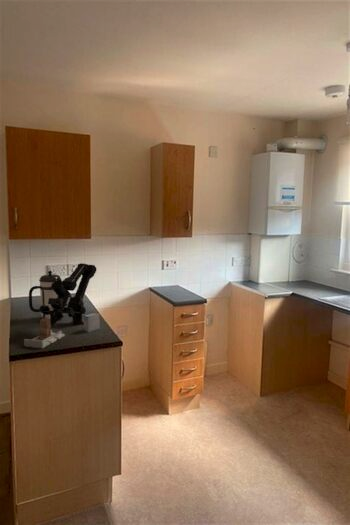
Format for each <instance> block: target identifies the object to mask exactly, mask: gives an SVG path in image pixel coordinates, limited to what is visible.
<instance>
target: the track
mask: <svg viewBox="0 0 350 525" xmlns="http://www.w3.org/2000/svg"><path fill="white" fill-rule="evenodd" d="M63 337H65V333H63V331H62V330H59V331H57V332H53V329H51V336H49V337H48V338H46V339H44V340H42V339H39V335H38V336H36V337H34V338H33V337H32V338H31V339H30V338H24V339H23V346H24V347H27V348H37V349H44V348H45V347H47V346H49V345H50V344H52V343H54V342H56V341H57V340H60V339H61V338H63Z"/></svg>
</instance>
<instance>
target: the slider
mask: <svg viewBox="0 0 350 525" xmlns="http://www.w3.org/2000/svg"><path fill="white" fill-rule="evenodd" d="M51 326H52V325H50V319H45V318H43V319H42V318H41V319H40V320H39V328H40V329H39V330H40V332H39V335H38V336H39V339H42V340H44V339H46V338H48V337H49V336H51V330H52V329H51Z"/></svg>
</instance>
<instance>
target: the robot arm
mask: <svg viewBox="0 0 350 525" xmlns="http://www.w3.org/2000/svg"><path fill="white" fill-rule="evenodd" d="M96 273H97V267H96V266H95V264H87V263H81V262H80V263H78V264H77V266H76V268H75V269H74V270H73V272H72V273H71V274H70V275H69V276H68V277H66V278H64V279H63V280H62V279H61V280H60V279H58V280H57V281H55V282H54V283H53V284H52V285H51V288H52V289H53V290H54V292H55V293H56V294H57V295H58V297H57V298H49V301H48V304H50V305H51V307H53V308H49V307H48V306H45V305H42V306H41V305H40V306H39V308H38V309H39V310H40V311H41V312H42V313H43V314H44V315H49V314H50V326H54V325H55V324H56V323H57V322H58V321H61V320H62V319H63V318H64V317H65V314H66V315H67V316H68V318H72V319H71V320H72V321H70V323H71V324H72V326H77V325H84V320H83V315H85V314H86V310H87V309H86V307H85V306H84V304H85V303H84V301H83V298H84V296H85V294H86V291H87V288H88V285H89V283H90V280H91V279H92V278H94V276H95V275H96ZM79 279H80V281H79ZM78 281H79V284H78V285H77V283H78ZM76 288H77V289H76ZM75 290H76V291H75ZM70 291H71V292H73V291H75V294H74V296H72V294H71V292H70ZM68 300H69V301H68ZM41 312H40V313H41ZM61 318H62V319H61ZM60 319H61V320H60Z"/></svg>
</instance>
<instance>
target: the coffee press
mask: <svg viewBox="0 0 350 525" xmlns="http://www.w3.org/2000/svg"><path fill="white" fill-rule="evenodd" d="M58 279H60V280H62V278H61V276H60V275H58V274H53V271H52V270H49V271H48V272H47V274H44V275H41V276H40V277H39V280H38V281H39V285H33V286H32V287H31V288H30V289H29V292H28V306H29V309H30V310H31V311H32V312H34V313H40V315H41V319H43V318H44V319H50V314H49V315H44V314H43V313H42V312H41V311H40V310H39V308H38V309H37V308H34V307H33V291H34V290H37V289H39V292H40V293H39V294H40V306H42V305H45V306H48V307H49V308H53V307H51V305H50V304H48V301H49V298H57V297H58V295H57V294H56V293H55V292H54V290H53V289H52V288H51V285H52V284H53V283H54V282H55V281H57V280H58ZM62 319H63V318H61V319H60V320H59V321H61V320H62Z"/></svg>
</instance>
